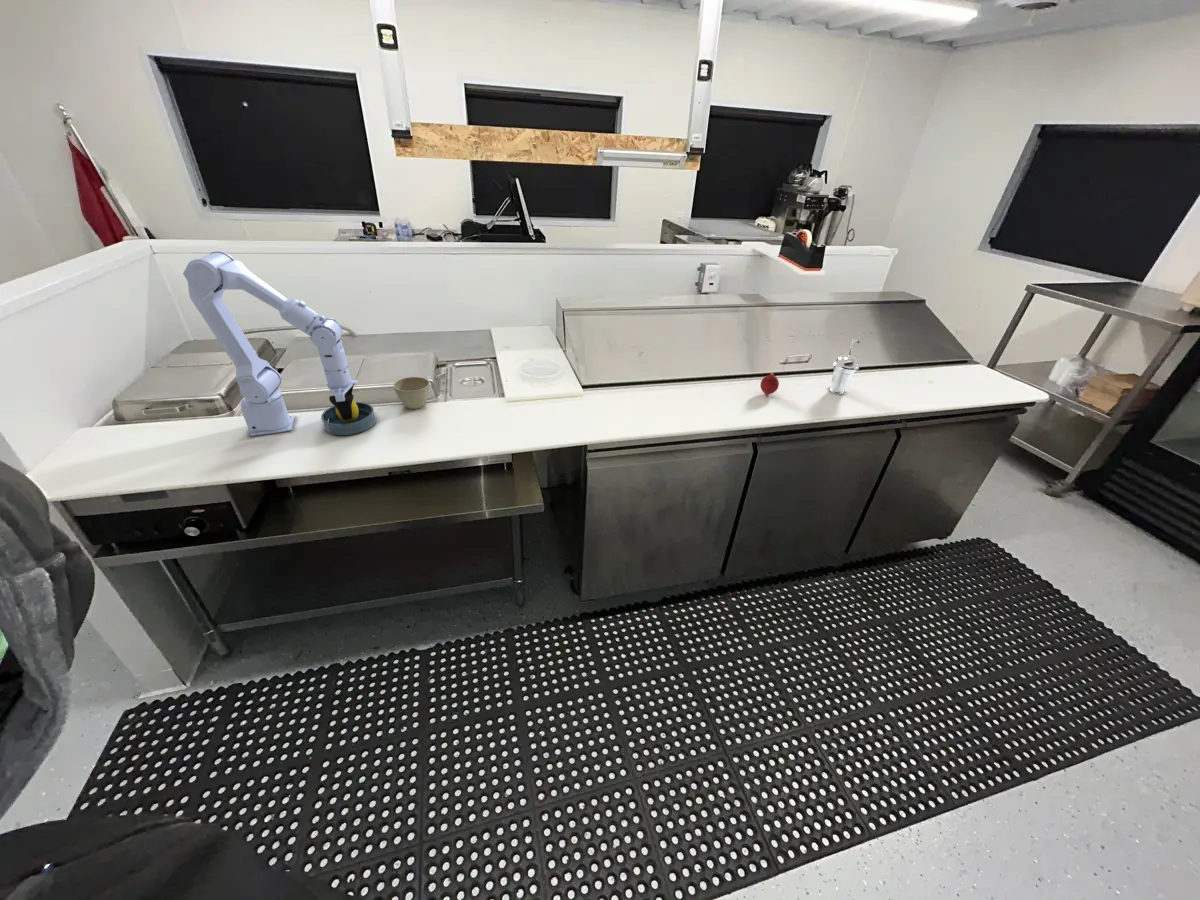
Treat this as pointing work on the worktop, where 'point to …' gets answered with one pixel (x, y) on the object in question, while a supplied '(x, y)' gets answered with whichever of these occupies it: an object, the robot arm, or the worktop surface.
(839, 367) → the cup with straw
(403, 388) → the flower pot
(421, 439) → the worktop surface
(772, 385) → the onion
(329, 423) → the bowl
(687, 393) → the worktop surface
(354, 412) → the lemon
